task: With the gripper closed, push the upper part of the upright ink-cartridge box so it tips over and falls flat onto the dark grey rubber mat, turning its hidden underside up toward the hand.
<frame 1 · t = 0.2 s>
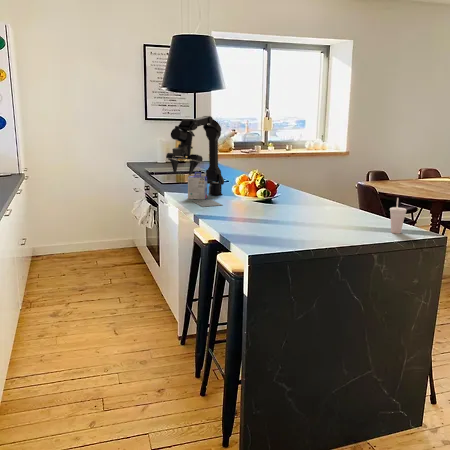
hand: (182, 174, 239), 15 cm above the countertop, tool pointing down, fingers open, 9 cm apart
smoothie: (395, 232, 189), on the countertop
ink cartridge box: (197, 199, 259), on the countertop
mat: (207, 203, 245), on the countertop
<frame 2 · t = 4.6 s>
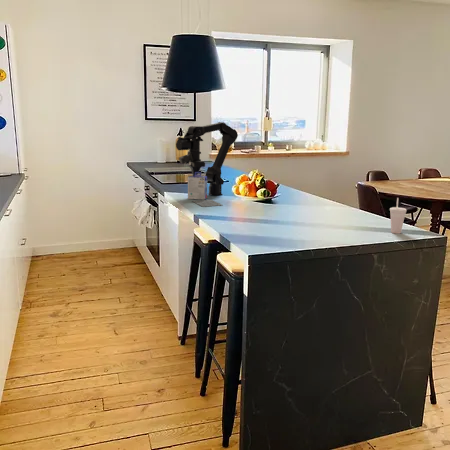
hand: (194, 178, 260), 11 cm above the countertop, tool pointing down, fingers closed
ink cartridge box: (197, 199, 259), on the countertop, touching gripper
everything else where it was.
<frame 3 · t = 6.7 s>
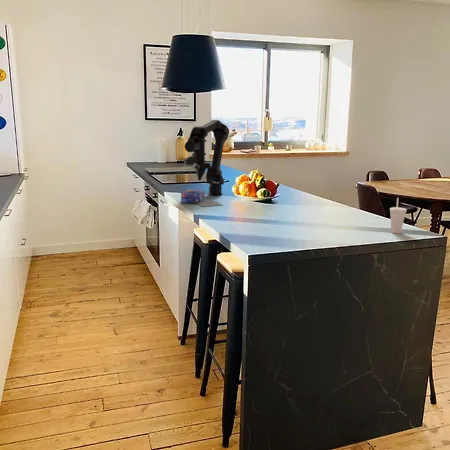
hand: (199, 180, 253), 10 cm above the countertop, tool pointing down, fingers closed
ink cartridge box: (196, 194, 256), point 3 cm above the countertop, touching mat
everything else where it was.
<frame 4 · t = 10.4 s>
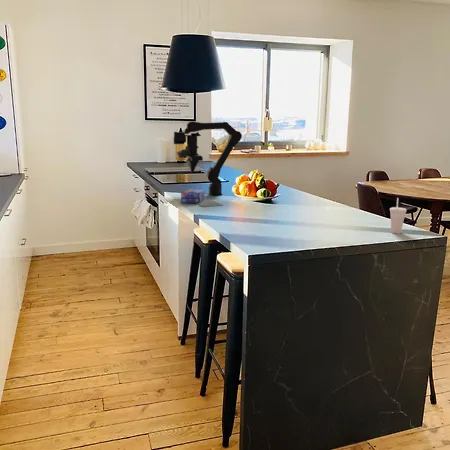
hand: (192, 172, 267), 13 cm above the countertop, tool pointing down, fingers closed
nothing on the countertop moved.
at the end: ink cartridge box tilted 91°; ink cartridge box inside the target area (9.6 cm from its centre), point 2.9 cm above the countertop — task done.
